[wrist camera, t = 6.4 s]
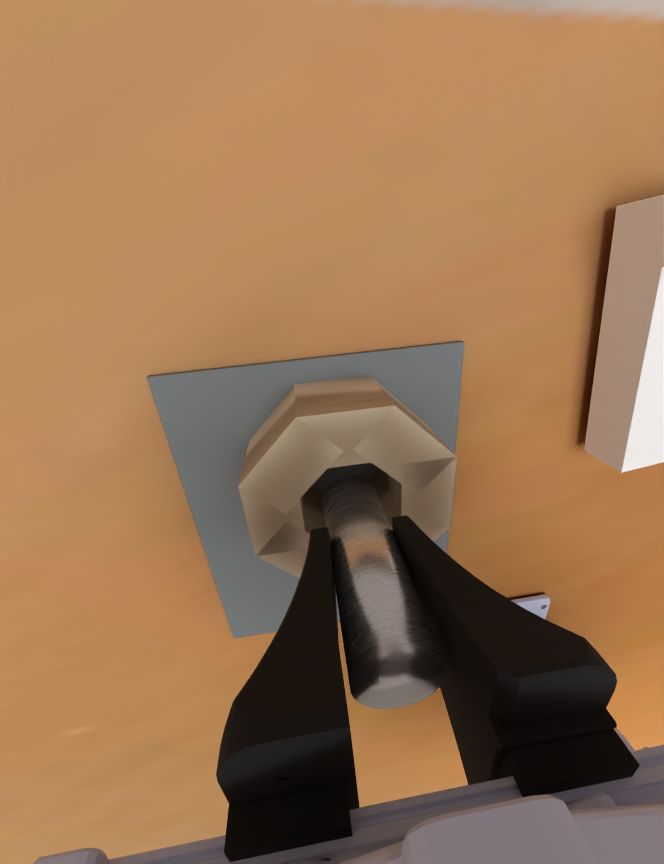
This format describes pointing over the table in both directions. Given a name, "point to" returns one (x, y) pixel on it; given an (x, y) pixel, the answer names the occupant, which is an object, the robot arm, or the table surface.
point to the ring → (340, 464)
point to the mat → (240, 419)
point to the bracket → (631, 344)
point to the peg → (378, 602)
